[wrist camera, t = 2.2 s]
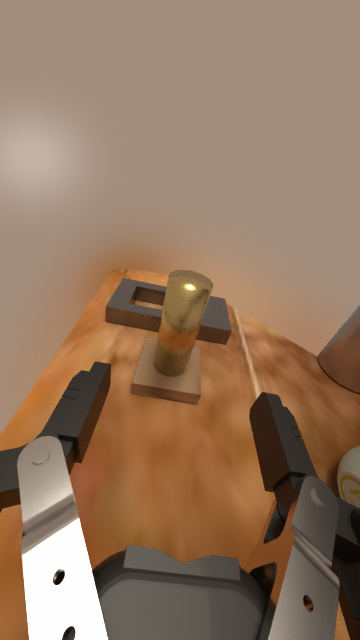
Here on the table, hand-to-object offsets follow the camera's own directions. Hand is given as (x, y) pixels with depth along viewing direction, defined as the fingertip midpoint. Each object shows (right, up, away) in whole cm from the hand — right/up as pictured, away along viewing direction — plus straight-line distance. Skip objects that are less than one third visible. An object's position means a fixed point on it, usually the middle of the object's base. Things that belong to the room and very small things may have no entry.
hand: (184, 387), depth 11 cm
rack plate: (-2, +4, +28) cm, 29 cm away
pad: (-2, -4, +18) cm, 18 cm away
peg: (-2, -2, +17) cm, 17 cm away
